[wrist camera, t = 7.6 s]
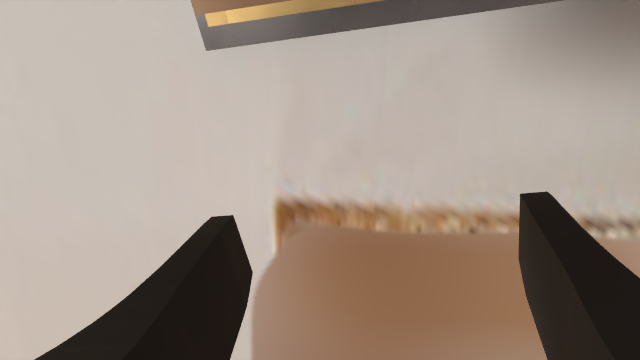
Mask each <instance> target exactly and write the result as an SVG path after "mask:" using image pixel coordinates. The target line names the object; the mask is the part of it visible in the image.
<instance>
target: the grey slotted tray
mask: <svg viewBox="0 0 640 360" xmlns="http://www.w3.org/2000/svg"><path fill="white" fill-rule="evenodd" d="M555 1H562V0H291V1H285V2H278V3H272V4H266V5H259V6H253V7H246V8H240V9H233V10H227V11H221V12H214V13H208V14H201V15H195V16H196V19H197V22H198V26H199V29H200V32H201V35H202V38H203V42H204V45H205V48H206V51H209V50H216V49H223V48H230V47H237V46H244V45H251V44H258V43H265V42H272V41H279V40H287V39H294V38H301V37H308V36H315V35H322V34H329V33H336V32H343V31H350V30H357V29H364V28H371V27H378V26H386V25H393V24H400V23H407V22H414V21H421V20H428V19H435V18H442V17H449V16H456V15H463V14H470V13H478V12H485V11H492V10H499V9H506V8H513V7H520V6H527V5H534V4H541V3H548V2H555Z"/></svg>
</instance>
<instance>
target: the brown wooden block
mask: <svg viewBox="0 0 640 360" xmlns="http://www.w3.org/2000/svg"><path fill="white" fill-rule="evenodd" d="M285 1H291V0H191V3H192V6H193V10H194V13H195V15H201V14H208V13H214V12H221V11H227V10H233V9H240V8H246V7H253V6H259V5H266V4H272V3H278V2H285Z"/></svg>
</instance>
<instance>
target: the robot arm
mask: <svg viewBox="0 0 640 360" xmlns="http://www.w3.org/2000/svg"><path fill="white" fill-rule="evenodd" d="M519 263H520V267H521V273H522V278H523V283H524V288H525V292H526V297H527V300H528V303H529V306H530V309H531V312H532V315H533V317H534V321H535V324H536V327H537V330H538V333H539V336H540V339H541V342H542V344H543V348H544V350H545V353H546V356H547V359H548V360H640V278H639V277H638V276H636V275H635V274H634V273H633V272H631V271H630V270H629V269H628V268H626V267H625V266H624V265H623V264H622V263H620V262H619V261H618V260H617V259H616V258H615V257H613V256H612V255H611V254H610V253H609V252H608V251H607V250H606V249H604V247H602V246H601V245H600V244H599V243H598V242H597V241H596V240H595V239H594V238H593V237H592V236H591V235H590V234H589V233H588V232H587V231H585V230H584V229H583V228H582V227H581V226H580V225H579V224H578V223H577V221H576V220H575V219H574V218H573V217H572V216H571V215H570V214H569V213H568V212H567V211H566V210H565V209H564V208H563V207H562V206H561V205H560V204H559V202H558V201H557V200H556V199H555V198H554V197H553V196H552V195H551V194H550V193H548V192H538V193H525V194H520V222H519ZM252 273H253V272H252V269H251V266H250V263H249V260H248V257H247V254H246V251H245V249H244V246H243V243H242V240H241V237H240V234H239V231H238V228H237V225H236V222H235V219H234V216H233V215H230V216H217V217H211V218H210V219H209V220H208V221H207V222H205V223H204V224H203V225H202V226H201V227H200V228H199V229H198V230H197V231H196V232H195V233H194V234H193V235H192V236H191V237H190V238H189V239H188V240H187V241H186V242H185V243H184V244H183V245H182V246H181V247H180V248H179V249H178V250H177V251H176V252H175V253H174V254H173V255H172V256H171V257H170V258H169V259H168V260H167V261H166V262H165V263H164V264H163V265H162V266H161V267H160V268H159V269H157V270H156V271H155V272H154V273H153V274H152V275H151V276H150V277H149V278H147V279H146V280H145V281H144V282H143V283H142V284H141V285H140V286H139V287H137V288H136V289H135V290H134V291H133V292H132V293H131V294H129V295H128V296H127V297H126V298H125V299H123V300H122V301H121V302H120V303H118V304H117V305H116V306H115V307H113V308H112V309H111V310H109V311H108V312H107V313H105V314H104V315H103V316H101V317H100V318H99V319H97V320H96V321H95V322H93V323H92V324H90V325H89V326H87V327H86V328H84V329H83V330H81V331H80V332H78V333H77V334H75V335H74V336H72V337H71V338H69V339H68V340H66V341H65V342H63V343H62V344H60V345H58V346H57V347H55V348H53V349H52V350H50V351H48V352H47V353H45V354H43V355H42V356H40V357H38V358H36V359H35V360H230V358H231V354H232V351H233V348H234V345H235V342H236V339H237V336H238V333H239V330H240V327H241V323H242V320H243V317H244V314H245V311H246V307H247V302H248V297H249V292H250V286H251V279H252Z"/></svg>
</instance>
